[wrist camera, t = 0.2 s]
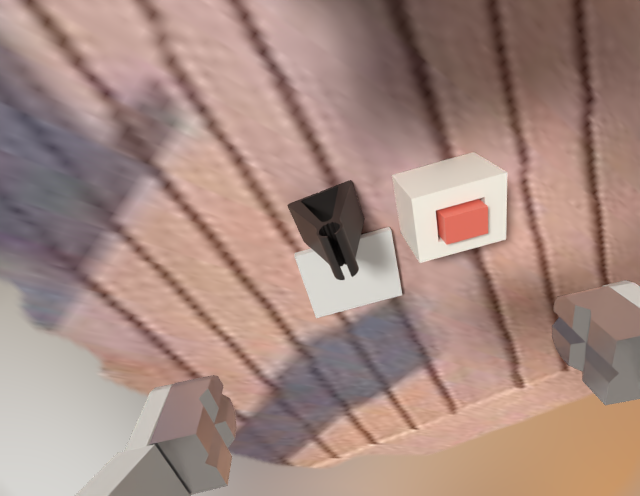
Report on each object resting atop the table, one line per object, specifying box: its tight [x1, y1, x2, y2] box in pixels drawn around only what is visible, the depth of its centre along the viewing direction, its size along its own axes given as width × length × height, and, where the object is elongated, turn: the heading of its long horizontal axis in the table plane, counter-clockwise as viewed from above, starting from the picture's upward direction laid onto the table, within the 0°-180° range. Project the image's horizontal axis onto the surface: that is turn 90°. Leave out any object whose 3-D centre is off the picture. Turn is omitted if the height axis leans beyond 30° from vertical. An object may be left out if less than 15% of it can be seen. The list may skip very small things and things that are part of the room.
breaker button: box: [436, 199, 488, 245], centre depth 43 cm, size 4×5×3 cm
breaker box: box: [392, 152, 507, 263], centre depth 47 cm, size 9×11×8 cm
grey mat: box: [294, 227, 402, 318], centre depth 55 cm, size 12×14×1 cm
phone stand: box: [288, 180, 364, 280], centre depth 45 cm, size 9×6×12 cm, turn 110°
